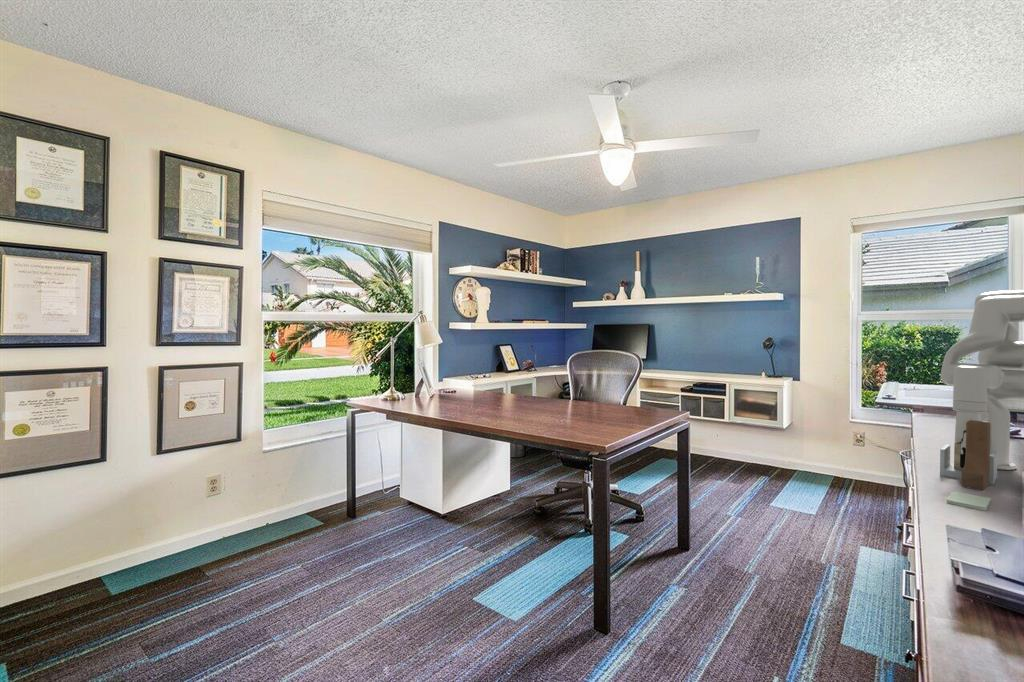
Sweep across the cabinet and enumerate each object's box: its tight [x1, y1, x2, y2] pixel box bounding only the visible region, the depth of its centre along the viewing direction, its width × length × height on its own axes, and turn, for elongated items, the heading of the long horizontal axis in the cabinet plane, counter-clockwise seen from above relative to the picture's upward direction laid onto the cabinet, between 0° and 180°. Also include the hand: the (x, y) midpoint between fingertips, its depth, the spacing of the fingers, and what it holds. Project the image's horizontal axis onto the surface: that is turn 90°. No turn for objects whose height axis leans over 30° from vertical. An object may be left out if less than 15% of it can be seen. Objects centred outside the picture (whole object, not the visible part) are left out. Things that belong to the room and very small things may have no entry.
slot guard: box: [939, 443, 998, 485], centre depth 146 cm, size 10×12×8 cm
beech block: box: [953, 442, 964, 470], centre depth 146 cm, size 4×6×8 cm, turn 41°
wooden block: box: [960, 420, 990, 491], centre depth 137 cm, size 9×4×18 cm, turn 127°
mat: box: [946, 491, 992, 512], centre depth 124 cm, size 10×7×1 cm
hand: (968, 466), depth 146 cm, fingers closed on beech block, 4 cm apart
